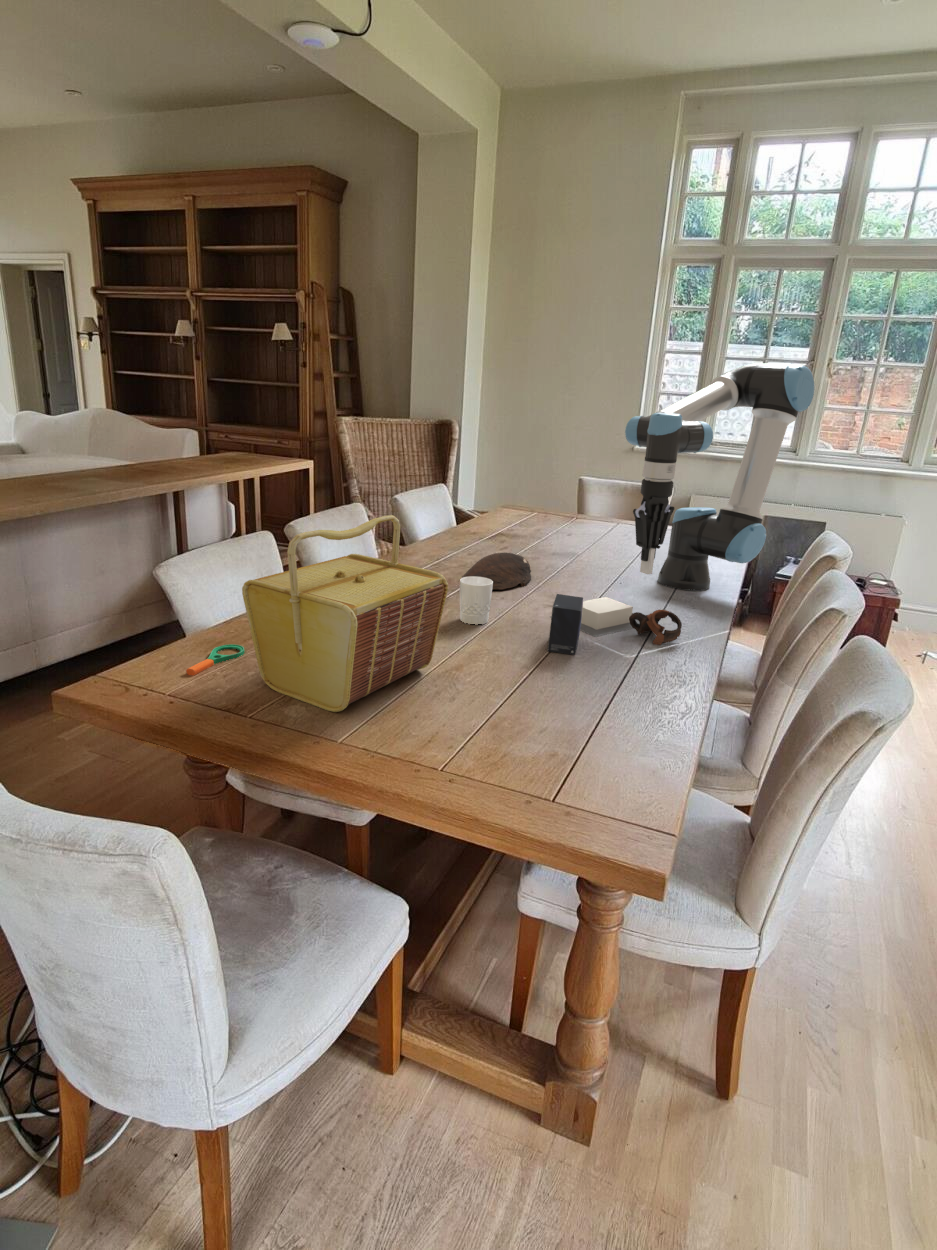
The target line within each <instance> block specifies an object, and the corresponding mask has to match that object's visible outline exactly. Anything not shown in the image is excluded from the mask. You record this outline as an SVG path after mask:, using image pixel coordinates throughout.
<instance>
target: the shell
mask: <svg viewBox="0 0 937 1250" xmlns="http://www.w3.org/2000/svg"><path fill="white" fill-rule="evenodd" d="M531 572H532V566H531V563H530V562H529V561H528V560H527V559H526V558H525V557H524V556H522V555H518V554H515V553H511V552H498V553H497V552H493V554H492V553H491V554H488V555H485V556H484V557H482V558H480V559H479V560H477V561H476V562H475V563H474V564H473V565H472V566H471V567H470V568H469V569H468V570H467V571H466V573H464V574H463V575H462V576H461V577H462V578H464V577H470V576H476V577H484V578H488V579H491V580H492V581H493V587H492V590H501V591H502V590H507V589H510V588H515V587H517V586H518V585H519V584H520V587H521V586H525V587H526V586H528V585H529V583H530V582H531V581H532V575H531Z"/></svg>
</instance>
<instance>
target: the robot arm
mask: <svg viewBox="0 0 937 1250" xmlns="http://www.w3.org/2000/svg"><path fill="white" fill-rule="evenodd" d="M813 375H814V374H813V373H812V371H811V369H810V368H809V367H807V366H806V365H803V364H794V363H792V362H791V363H762V362H761V363H759V362H757V363H755V362H754V363H750V364H745V365H743V366H739V367H737V368H735V369H731V370H729V371H727V372H725V373H722V374H721V375H719V376H717V377H715V378H714V379H712V381H710V383H709V385H706V386H704V387H703V388H701V389H700V390H699V389H698V390H697V391H695V392H693V393H692V394H689V395H687V396H686V397H684V398H681V399H680V400H677V401H676V402H674V403H672V404H670V405H667V406H666V407H664V408H663V409H662V408H661V409H660V410H658V411H657V412H654V413H652V414H650V415H648V416H644V415H635V416H632V417H631V418H630V419H629V420H628V421H627V423H626V426H625V430H624V433H625V434H624V435H625V438H626V441H627V442H628V444H630V445H633V446H638V447H639V448H645V454H644V459H643V460H644V461H643V467H642V468H643V469H642V475H641V476H642V477H643V479H642V480H641V487H640V494H641V495H642V500H641V502H640V506H639V507H638V508H634V509H632V510H633V511H632V513H633V517H634V523H635V527H634V528H635V544H636V546H639V547H640V548H641V553H640V561H641V562H640V569H639V572H640V573H641V574H645V575H652V574H653V568H654V562H655V558H656V553H657V549H660V548H661V546H662V545H663V544H664V542H665V537H666V534H667V530H668V527H669V525H670V520H671V517H672V515H673V518H672V522H671V524H672V525H671V529H670V538H669V545H668V551H667V556H666V559H665V560H664V562H663V565H662V566H661V569H660V571H659V572H658V577H657V582H658V583H659V584H661V585H662V586H665V587H669V588H672V589H678V590H683V591H704V590H708V589H709V588H710V585H711V577H710V568H709V563H708V561H709V557H714V558H717V559H720V560H725V561H727V562H730V563H737V564H747V563H750V562H751V561H753V560H754V559H755V558H756V557H757V556H758V555H759V554H760V552H761V551H762V549H763V547H764V546H765V543H766V538H767V529H766V527H765V526H764V525H763V524H762V522H763V520H764V517H763V516H762V514H761V512H760V510H761V508H762V504H763V501H764V498H765V496H766V492H767V489H768V487H769V484H770V480H771V477H772V475H773V470H775V465H776V462H777V459H778V456H779V453H780V449H781V448H782V444H783V441H784V439H785V438H784V437H785V436H786V433H787V432H786V431H787V428H788V427H789V425H790V424H792V423H793V422H795V421H796V420H797V417H798V415H799V412H800V413H801V412H804V411H806V410H807V409H809V407H810V406H811V404H812V402H813V399H814V395H815V394H814V393H815V381H814V376H813ZM743 407H744V408H752V410H751V413H752V414H753V417H754V422H753V424H752V427H751V431H750V433H749V437H748V440H747V444H746V447H745V449H744V453H743V456H742V459H741V463H740V465H739V468H738V470H737V471H738V472H737V475H736V478H735V480H734V484H733V487H732V490H731V493H730V496H729V500H728V502H727V503H726V505H723V506H722V507H721V508H720V509H719V512H718V514H717V509H716V508H713V507H701V506H700V507H696V506H695V507H694V506H693V507H681V508H678V509H676V510H675V506H672V505H670V504H669V503H670V501H669V498H670V497H672V495H673V490H674V482H673V479H675V472H676V465H677V459H678V454H690V453H691V454H692V453H693V454H697V453H701V452H705V451H707V449H709V448H710V446H711V445H712V443H713V439H714V431H713V428H712V427H711V426H712V425H710V424H709V423H708V422H705V421H703V420H705V419H707V418H708V417H710V416H712V415H714V414H716V413H718V412H720V411H723V412H725V411H729V410H731V409H734V408H743ZM673 513H674V514H673Z"/></svg>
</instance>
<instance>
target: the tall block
mask: <svg viewBox="0 0 937 1250" xmlns="http://www.w3.org/2000/svg"><path fill="white" fill-rule="evenodd" d="M633 608H634V606H632V605H628V604H626V603H624V602H621V601H618V600H616V599H612V598H610V597H608V596H604V597H603V596H602V597H600V598H599V597H598V598H593V599H587V600H583V610H582V620H581V623H582V624H584V625H587V626H589V627H592V628H594V629H596V630H597V629H602V628H606V627H611V626H616V625H620V624H625V623H629V622H630V621H629V617H630V616H631V615H632V613H633V611H634V609H633Z"/></svg>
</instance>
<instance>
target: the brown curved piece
mask: <svg viewBox="0 0 937 1250" xmlns="http://www.w3.org/2000/svg"><path fill="white" fill-rule="evenodd" d="M632 613H633V614H632V615H631V616H630V617H629V621H630V624H631V626H632V627H633V629H634V630H635V631H636V633H637V635H641V634H643V633H647V632H652V633H653V634H654V636H655V638H654V639H653V641H652V644H653V645H655V646H661V645H662V644H667V643H671V642H673V641H676V640H678V638H680V636H681V634H682V627H683V624H682V620H681V619H680V617H678V615H677V614H675V613H673V612H672V611H670V610H667V609H657V610H654V611H653V612H651V613H648V614H643V613H642V612H638V611H637V612H636V611H635V612H632ZM666 618H670V619H671V622H672V623H675V624H676V625H677V627H676V628H675V629H673V630H668V629H666V627H665V626H663V625H661V624H659V622H660V621H661V620H662V619H666ZM635 620H638V621H639V622H640V624H638V623H637V622H636V621H635Z"/></svg>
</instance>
